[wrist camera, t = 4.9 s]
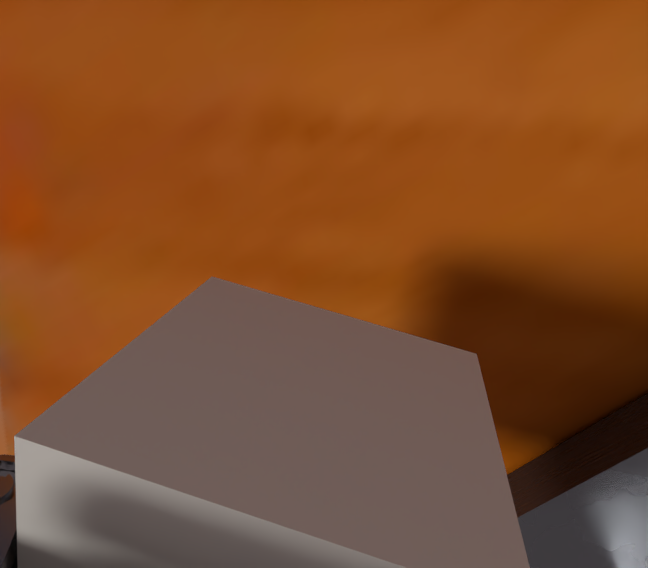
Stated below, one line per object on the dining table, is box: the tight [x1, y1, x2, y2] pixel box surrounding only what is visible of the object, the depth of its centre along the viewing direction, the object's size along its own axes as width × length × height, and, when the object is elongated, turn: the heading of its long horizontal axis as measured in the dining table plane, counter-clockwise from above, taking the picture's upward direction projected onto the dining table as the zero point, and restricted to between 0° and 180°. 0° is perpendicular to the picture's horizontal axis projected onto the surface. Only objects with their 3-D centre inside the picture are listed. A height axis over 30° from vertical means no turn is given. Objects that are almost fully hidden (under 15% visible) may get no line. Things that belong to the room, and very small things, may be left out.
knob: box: [14, 277, 530, 568], centre depth 9 cm, size 6×6×6 cm
